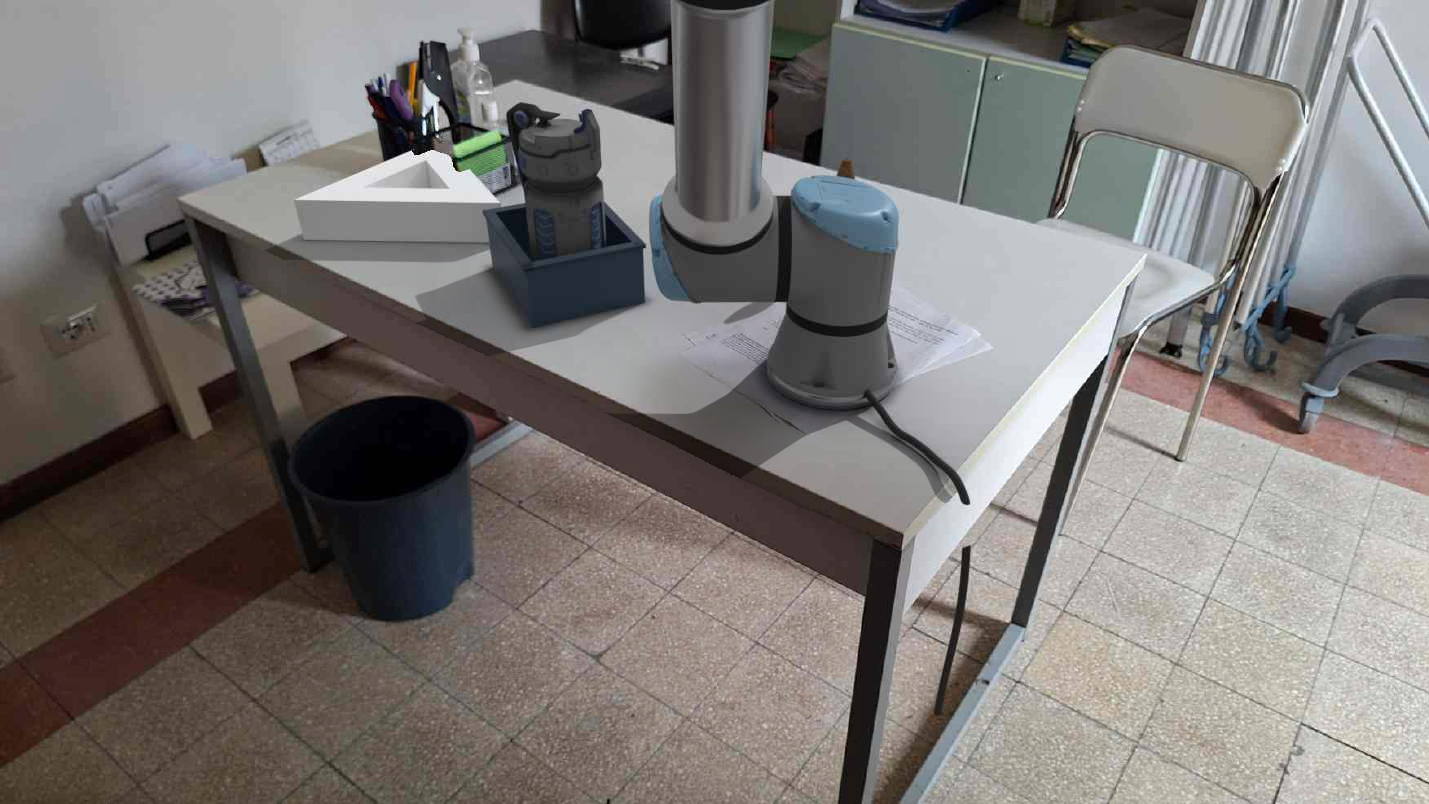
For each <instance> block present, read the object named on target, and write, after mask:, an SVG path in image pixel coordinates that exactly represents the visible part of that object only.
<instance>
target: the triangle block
mask: <svg viewBox="0 0 1429 804" xmlns="http://www.w3.org/2000/svg"><path fill="white" fill-rule="evenodd" d="M293 202H294V207H295V210H296V214H297V219H298V222H299V226H300V230H301V234H302V238H303V240H304V241H345V242H346V241H347V242H348V241H349V242H350V241H351V242H354V241H355V242H414V243H418V242H420V243H475V244H478V243H480V244H481V243H483V244H490V243H489V236H488V228H487V221H486V218H485V216H484V215H483V210H488V209H493V208H499V207H502V205H501V204H502V203H501V202H500V201H499V200H498V198H497V197H496V196H495V195H494V194H493V193H492V192H491V191H490V190H489V188H488V187H487V186H485V184H484V182H482V181H481V180H480V179H479V178H478V177H477V176H476V174H474V172H473V171H472V170H471V169H470V168H469V169H468V170H465V171H462V172H458V171H456V170H455V168H454V167H453V162H452V159H451V157H450V156H449V155H447V154H444V153H440V152H437V151H435V150H430V151H427V152H425V153H422V154H420V155H414V153H413V152H412V150H409V151H407V152H404V153H402V154H399V155H398V156H395V157H392V158H391V159H390V158H389V159H388V160H386V161H384V162H380V163H378V164H376V165H373V166H371V167H368V168H367V169H364V170H362V171H359V172H357V173H355V174H353V175H350V176H347V177H345V178H342V179H340V180H338V181H336V182H333V183H331V184H329V185H325V186H323V187H321V188H318V189H316V190H314V191H312V192H310V193H307V194H305V195H302V196H300V197H297V198H295V199H293Z"/></svg>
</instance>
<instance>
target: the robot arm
mask: <svg viewBox="0 0 1429 804" xmlns="http://www.w3.org/2000/svg"><path fill="white" fill-rule="evenodd" d="M775 1H776V0H670V19H671V20H670V22H671V23H670V24H671V55H672V56H671V58H672V61H671V62H672V87H673V88H672V90H673V91H672V93H673V95H672V96H673V124H674V125H673V126H674V128H673V129H674V162H675V163H674V164H675V174H674V175H673V176H672V177H671V178H670V180H669V181H668V182H667V183H666V185H665V187H664V190H663V193H662V194H659V195H655V196H654V197H653V198H652V199H651V202H650V205H649V213H648V230H649V231H648V232H649V245H650V250H651V262H652V269H653V274H654V278H655V282H656V285H657V288H658V290H659V292H660V293H661V295H662V296H663V297H664V298H666V299H667V300H669V301H672V302H673V301H674V302H686V303H692V304H696V305H697V304H702V303H703V304H704V303H785V313H784V316H783V319H782V321H781V324H780V326H779V328H778V330H777V333H776V335H775V338H774V340H773V343H772V344H771V346H770V347H769V351H768V354H767V360H766V361H767V362H766V363H767V365H766V373H767V374H766V375H767V378H768V380H769V383H770V384H771V385H772V386H773V387H774V388H775V389H776V391H778V392H779V393H780V394H781V395H783V396H784V397H786V398H788V399H790V400H792V401H794V402H796V403H799V404H801V405H805V406H809V407H813V408H819V409H825V410H851V409H857V408H862V407H866V406H870V405H871V406H872V407H873V408H874V410H875V411H876V412H877V414H878V415H879V417H880V418H881V421H882V422H883V423H884V424H885V425H886V427H887V428H888V429H889V431H891V433H892V434H894V436H896V437H898V438H899V439H901V440H902V441H904V442H906V443H907V444H909V445H911V446H912V447H914V448H915V449H917V450H918V451H919V452H920V453H922V454H923V456H925V457H926V458H927V459H928V460H929V461H930V462H932V463H933V464H934V465H935V466H936V467H937V468H938V469H940V470H941V471H942V472H943V473H945V474H946V475H947V477H948V479H950V480H951V482H952V484H953V485H954V487H955V489H956V492H957V494H958V497H959V500H960V502H961V504H962V505H964V506H970V505H971V499H970V496H969V494H968V490H967V488H966V486H965V483H964V481H963V480H962V478H961V476H960V475H959V473H958V472H957V471H956V470H955V469H954V468H953V467H952V466H951V465H950V464H949V463H947V462H946V461H945V460H944V459H942V458H941V457H939V456H938V455H937V453H935V452H934V451H933V450H932V449H930V448H929V447H928V445H926V444H924V443H923V442H922V441H921V440H919V439H917V438H916V437H915V436H913V435H912V434H909V433H908V432H906V431H904V430H903V429H901V428H900V427H899V426H898V425H897V424H896V422H895V421H894V420H893V418H892V417H891V416H890V414H889V413H888V411H887V409H886V408H885V407H884V406H883V405H882V403H881V402H880V401H881V400H883V399H884V398H885V397H887V396H888V395H889V394H890V392H892V390H893V388H894V386H895V384H896V378H897V369H898V363H897V359H896V354H895V349H894V345H893V340H892V336H891V333H890V329H889V323H888V316H889V309H890V300H891V293H892V285H893V278H894V277H893V276H894V269H895V262H896V252H897V251H898V248H899V243H900V242H899V218H900V217H899V211H898V207H897V205H896V204H895V202H894V201H893V200H892V199H891V197H890V196H889V195H887V193H886V192H884V191H882V190H880V189H879V188H877V187H875V186H873V185H871V184H868V183H866V182H863V181H861V180H857V179H855V180H854V179H850V178H845V177H839V176H837V175H830V174H829V175H828V174H827V175H826V174H818V175H812V176H811V177H803V178H801V179H799V180H798V181H796V182H795V184H794V185H793V187H792V189H791V190H790V195H777V194H776V195H775V194H773V191H772V189H771V186H770V184H769V183H768V182H767V180H766V179H765V178H764V177H763V176H762V171H763V159H764V158H763V156H764V144H765V133H766V132H765V130H766V120H767V119H766V118H767V104H768V91H769V78H770V64H771V52H772V51H771V50H772V37H773V36H772V35H773V25H774V12H775V11H774V10H775ZM971 551H972V545H971V544H969V545H966V546H963V547H961V558H960V572H959V584H958V592H957V600H956V607H955V613H954V618H953V623H952V628H951V632H950V636H949V641H948V645H947V649H946V654H945V658H944V662H943V667H942V671H941V675H940V679H939V683H938V688H937V693H936V698H935V703H934V709H933V715H934V716H936V717H940V716H942V713H943V707H944V702H945V697H946V693H947V688H948V683H949V679H950V675H951V671H952V666H953V663H954V659H955V655H956V650H957V648H958V647H957V646H958V642H959V638H960V634H961V629H962V624H963V619H964V614H965V609H966V603H967V596H968V588H969V579H970V569H971V568H970V567H971Z"/></svg>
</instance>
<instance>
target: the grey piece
mask: <svg viewBox="0 0 1429 804" xmlns="http://www.w3.org/2000/svg"><path fill="white" fill-rule="evenodd" d="M561 115H562V114H561V113H559V112H553V111H548V110H542V109H541V108H540V107H538V106H537V105H536V104H534V103H529V102H528V103H527V102H523V101H520V102H517V103H516V104H514V105H513V106H512V107H511V108H509V109H508V110H507V111H506V113H505V116H506V117H505V118H506V124H507V131H508V136H509V140H510V144H511V148H512V152H513V155H514V159H515V162H516V163H515V164H516V166H517V171H518V174H519V178H520V182H521V187H522V190H523V197H524V203H525V205H526V214H527V223H528V231H527V233H526V234H525V236H524V237H526V236H528V235H529V241H530V251H531V260H532V262H534V261H539V260H544V259H549V258H554V257H559V256H564V255H569V254H574V253H579V252H584V251H589V250H594V249H599V248H604V247H607V244H606V228H605V211H604V202H605V197H604V183H603V180H602V179H601V178H600V177H599V176H598V174H599V172H601V169H602V164H603V163H602V145H601V130H600V128H601V127H600V125H599V123H598V120H597V118H596V116H595V114H594V112H593V109H591V108H585V109H583V110H581V113H577V115H578V120H576V119H572V118H558V117H560V116H561ZM537 120H538V122H537Z"/></svg>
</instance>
